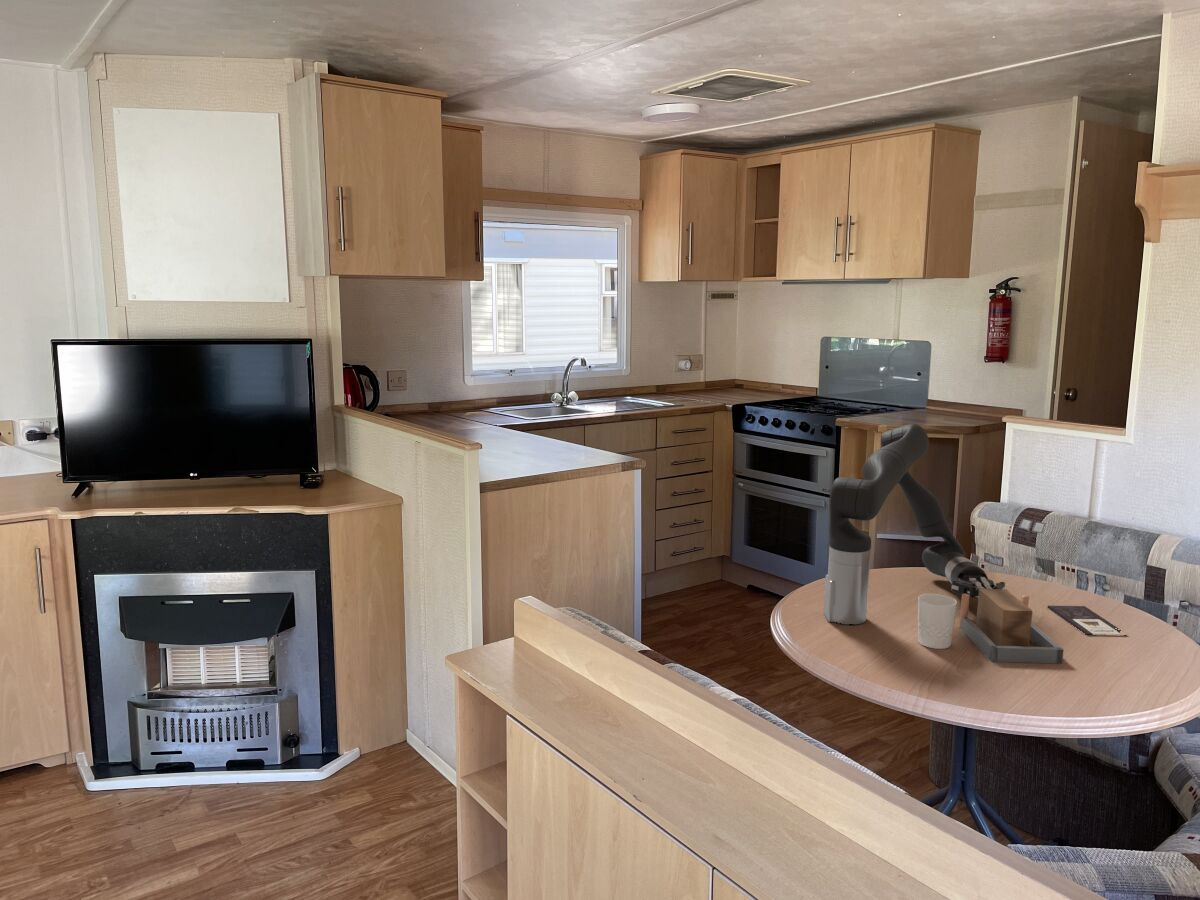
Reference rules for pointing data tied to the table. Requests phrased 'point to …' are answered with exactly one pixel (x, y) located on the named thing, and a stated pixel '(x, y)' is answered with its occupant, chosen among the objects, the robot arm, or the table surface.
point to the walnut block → (1003, 618)
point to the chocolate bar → (1085, 620)
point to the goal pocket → (1040, 654)
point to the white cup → (936, 620)
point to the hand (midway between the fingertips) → (992, 599)
